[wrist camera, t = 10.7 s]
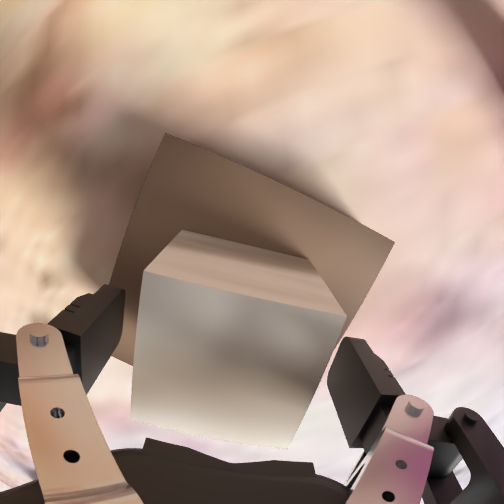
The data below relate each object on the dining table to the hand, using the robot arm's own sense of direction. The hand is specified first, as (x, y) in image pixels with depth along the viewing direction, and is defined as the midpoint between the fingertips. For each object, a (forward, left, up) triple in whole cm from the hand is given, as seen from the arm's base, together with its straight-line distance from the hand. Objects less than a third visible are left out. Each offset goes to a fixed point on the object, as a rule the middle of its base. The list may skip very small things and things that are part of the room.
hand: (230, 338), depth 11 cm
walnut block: (0, 0, -8) cm, 8 cm away
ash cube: (0, 0, -3) cm, 3 cm away
